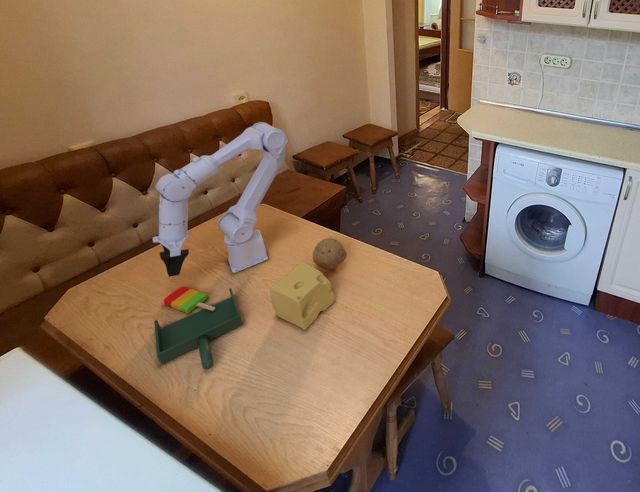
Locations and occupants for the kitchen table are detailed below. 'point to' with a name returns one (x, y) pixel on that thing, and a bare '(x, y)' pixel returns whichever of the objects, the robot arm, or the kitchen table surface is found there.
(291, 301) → the cheese
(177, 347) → the dustpan
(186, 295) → the popsicle
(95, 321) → the kitchen table surface
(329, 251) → the natural sponge
